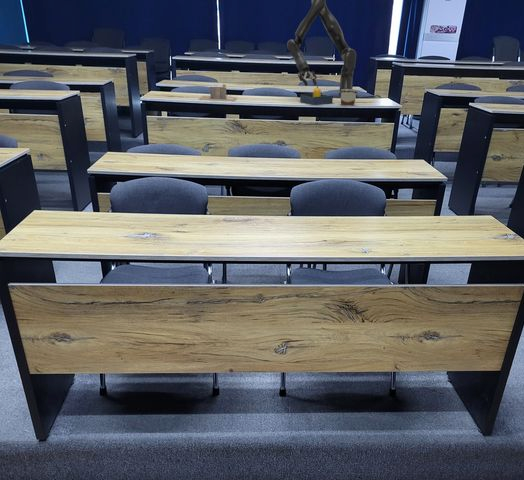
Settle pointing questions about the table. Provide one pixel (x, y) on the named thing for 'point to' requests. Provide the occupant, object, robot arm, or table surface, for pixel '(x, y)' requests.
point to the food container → (348, 97)
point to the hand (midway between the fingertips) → (311, 84)
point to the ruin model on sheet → (218, 94)
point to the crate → (316, 99)
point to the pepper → (317, 92)
